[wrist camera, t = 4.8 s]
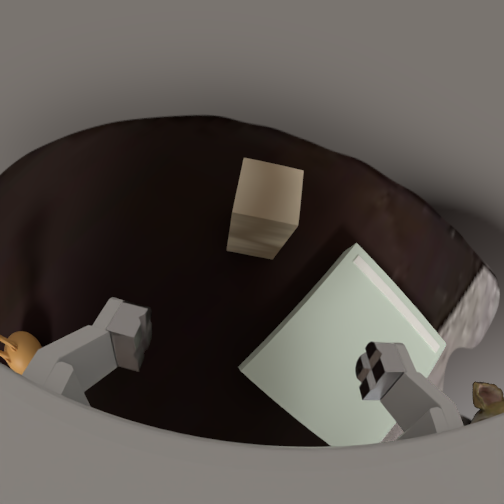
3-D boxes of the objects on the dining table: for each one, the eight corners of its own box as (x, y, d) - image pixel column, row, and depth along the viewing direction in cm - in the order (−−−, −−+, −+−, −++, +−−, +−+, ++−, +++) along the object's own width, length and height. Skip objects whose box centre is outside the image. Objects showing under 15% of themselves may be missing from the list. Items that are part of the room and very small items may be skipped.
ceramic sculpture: (524, 474, 12) (473, 477, 13) (484, 464, 20) (425, 458, 21) (552, 398, 15) (512, 375, 16) (510, 398, 23) (460, 376, 24)
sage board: (430, 345, 24) (447, 344, 22) (347, 456, 20) (359, 466, 18) (344, 251, 26) (357, 242, 23) (237, 366, 22) (240, 371, 19)
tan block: (278, 217, 26) (303, 170, 18) (272, 259, 25) (298, 225, 17) (234, 208, 26) (243, 157, 18) (226, 250, 24) (232, 212, 17)
